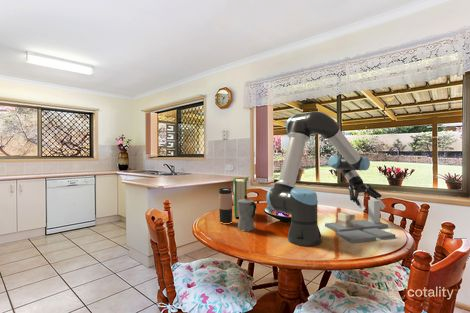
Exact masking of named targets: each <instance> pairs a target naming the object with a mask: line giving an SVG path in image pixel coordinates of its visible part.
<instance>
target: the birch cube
mask: <svg viewBox="0 0 470 313" xmlns="http://www.w3.org/2000/svg"><path fill="white" fill-rule="evenodd" d="M355 220H356V214H355V213H351V212H348V211H344V212H337V222H338V224H339V225H342V226H344V227H351V226H355Z"/></svg>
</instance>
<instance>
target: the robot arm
mask: <svg viewBox="0 0 470 313" xmlns="http://www.w3.org/2000/svg"><path fill="white" fill-rule="evenodd" d="M285 129H286V133H287V136H288V138H289V141H288V144H287V148H286V150H285V151H286V152H285V156H284V159H283V162H282V166H281V169H280V170H281V171H280V174H279V178H278V181H276V182H274V184H273V187H271V188H269V189H268V190H267V192H266V196H265V197H266V200H265V201H266V204H267V205H268V207H269V208H270V209H271V210H273V211H275V212H278V213H282V214H287V215H290V216H291V217H290V218H291V220H290V222H291V223H290V226H289V229H288V233H287V241H288V242H290V243H292V244H294V245H297V246H306V247H309V246H311V247H313V246H318V245H320V244H322V241H323V236H322V233H321V231H320V228H319V223H318V203H319V202H318V201H319V200H318V195H317V193H316V192H315V191H314V190H312V189H309V188H304V187H303V188H302V187H297V186H296V183H297V179H298V175H299V171H300V166H301V163H302V158H303V155H304V152H305V146H306V143H308V142H309V141H310V139H311V135H320V136H322V138H324V139H327V140H328V141H329V142H330V144H331V145H332V146H333V147H334V148H335V150H336V151H337V153H339V154H340V155H341V156H339V155H331V156H329V157H328V161H327V163H328V166H330V167H331V168H332V169H335V170H336V171H338V172H341V174H342V175H343V176H344V178H345V179H346V182H348V184H349V186H348V188H347V189H348V192H349V199H350V201H352V202H353V203H355V204H356V205H357V206H358V208H359V209H360V211H361V212H364V211H365V210H366V206H365V205H364V203H363V202H362V201H361V199H360V198H359V195H360V193H361V194H362V193H363V194H367V196H370V197H372V199H374V200H379V201H380V210H382V211H383V210H384V209H385V208H386V205H385V204H384V201H383V200H382V198H381V197H382V194H381V193H380V192H378V191H377V190H376V189H375V188H373V187H372V186H371V185H370V184H369V183H367V184H364V180H363V179H362V177H361V176H360V174H359V173H358V172H357V171H360V172H361V171H367V170H368V169H369V168H370V166H371V163H370V162H371V161H370V159H369V157H367V156H361V155H360V153H359V152H358V151H357V150H356V148H355V147H354V145H352V144H351V142H350V141H349V140H348V138H347V137H346V135H345V134H344V133H343V132H342V131H341V128H340V125H339V124H338V122H337V121H336V120H335V119H334V118H332V117H331V116H330V115H328V114H327V113H325V112H323V111H318V110H315V111H310V112H304V113H297V114H294V115H292V116H290V117H289V118H288V119H287V121H286V123H285Z"/></svg>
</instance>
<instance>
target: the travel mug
mask: <svg viewBox="0 0 470 313" xmlns="http://www.w3.org/2000/svg"><path fill="white" fill-rule="evenodd" d="M218 195H219V196H218V198H219V199H218V204H219V206H218V208H219V209H218V210H219V223H220V222H223V223H230V222H232V223H233V189H232V188H229V187H224V188H223V187H222V188H219V190H218Z"/></svg>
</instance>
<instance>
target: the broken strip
mask: <svg viewBox="0 0 470 313" xmlns="http://www.w3.org/2000/svg"><path fill="white" fill-rule="evenodd" d="M335 236H336V237H338V238H340V239H343V240H345V241H346V242H349V243H351V244H355V243H356V244H357V243H363V242H364V243H365V242H372V241H373V242H374V241H377V239H378V240H389V239H394V238H395V239H396V234H394V233H392V232H390V231H386V230H383V229H382V228H371V229H363V230H353V231H344V232H337V231H335Z"/></svg>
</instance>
